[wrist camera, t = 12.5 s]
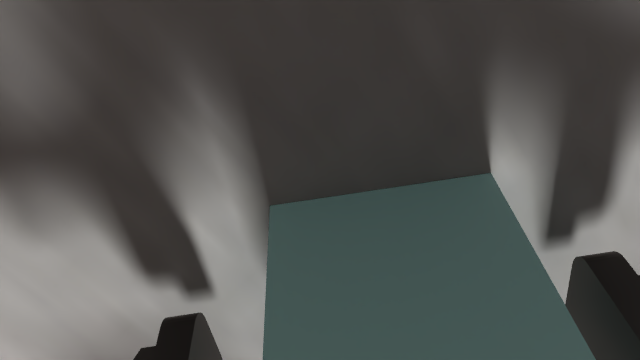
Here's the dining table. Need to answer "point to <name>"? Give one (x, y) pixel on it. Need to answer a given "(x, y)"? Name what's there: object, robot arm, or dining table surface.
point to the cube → (411, 279)
